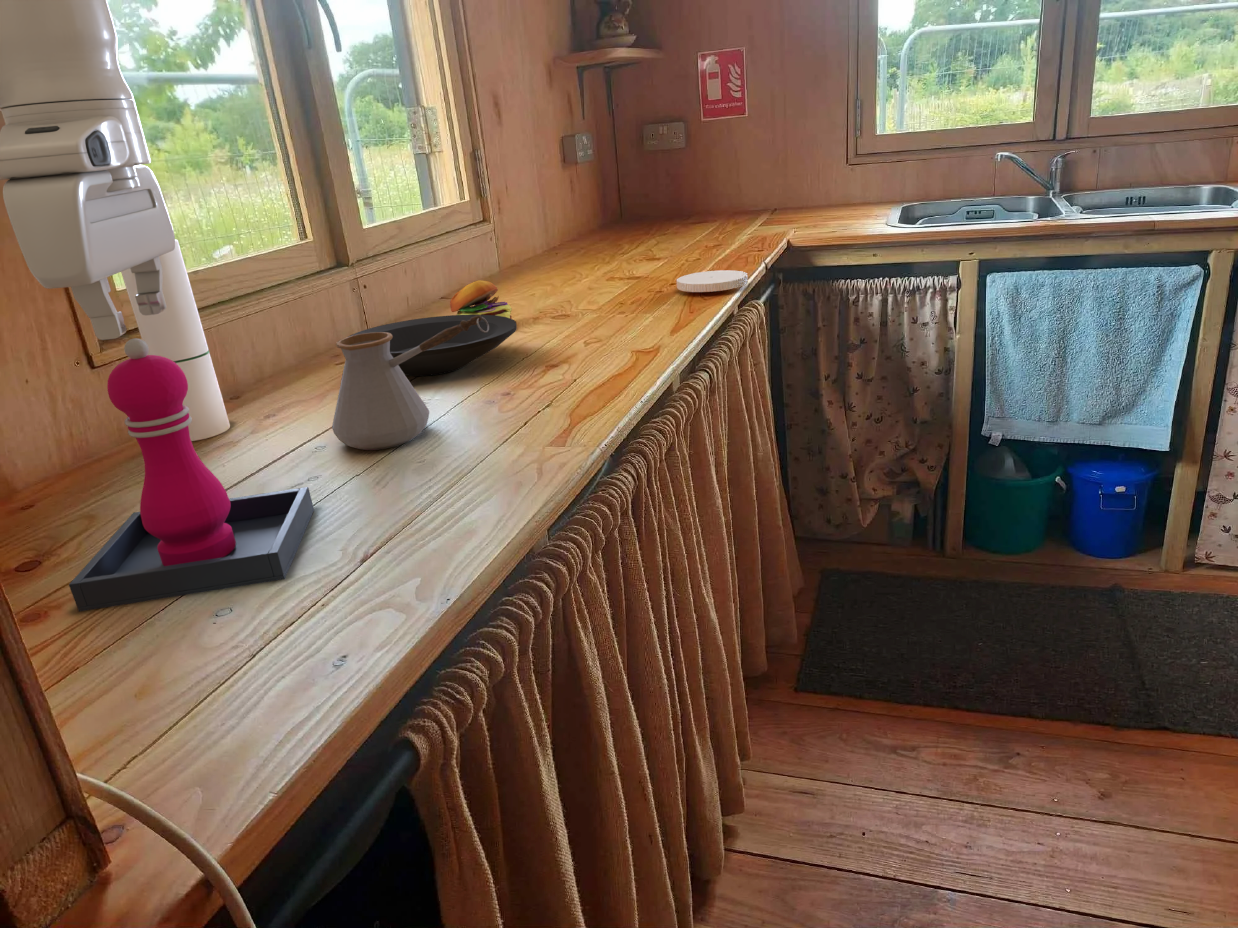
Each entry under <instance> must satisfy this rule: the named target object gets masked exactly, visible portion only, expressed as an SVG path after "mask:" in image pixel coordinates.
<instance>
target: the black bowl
mask: <svg viewBox="0 0 1238 928" xmlns="http://www.w3.org/2000/svg"><path fill="white" fill-rule="evenodd" d="M474 316H478V315H457V314H451V315H450V314H449V315H440V316H430V317H428V316H427V317H420V318H414V319H413V318H412V319H407V320H402V321H401V320H400V321H395V322H389V323H386V324H382V325H378V326H375V327H374V326H373V327H371V328H367V329H363V330H361V331H357V332H355V333H352V334H350V335H348V336H347V337H350V336H354V335H359V334H365V333H374V332H387V333H391V334H392V336H393V337H392V339H391V340H390V354H391V355H392V357H393V358H395V357H397V356H399V355H401V354H403V353H405V352H407V351H409V350H411V349H413V348H415V347H417V346H419V345H420V344H422V343H423V342H425V341H427V340H428V339H430V338H432V337H433V336H435V335H437V334H438V333H440V332H441V331H443V330H445V329H447V328H451V327H453V326H456V325H459V324H460V322H461V321H462V320H464V321H468V320H470V318H471V317H474ZM481 316H482V317H483V318H485V319H486V321H487V322H488V324H489V330H488V332H482V331H481V330H480V329H479V328H478V325H477V324H476V325H472V326H470V327H469V329H468V330H467V331H464V330H463V331H461V332H460V333H459V334H457V335H456V336H454V337H453V338H452V339H450V340H448V341H446V342H444V343H441V344H439V345H437V346H435V347H432V348H430V349H428V350H426V351H422V352H420V353H419V354H417V355H415V356H413V357H411V358H410V359H408V360H406V361H404V362H402V363H401V364H399V367H400V368H401V370H402V371H403V373H404V374H405V376H410V377H429V376H438V375H443V374H447V373H451V372H455V371H458V370H460V369H462V368H464V367H465V366H467V365H469V364H471V363H472V362H474V361H476V360H478V359H480V358H481V357H483V356H485V355H486V354H488V353H490V352H491V351H493V350H495V349H496V348H497V347H498V346H500V345H501V344H502V343H504V342H505V341H506V340H507V339H508V338H510V337H511V336H512V335H513V334H515V333H516V331H517V330H518V326H517V321H516V320H515V319H513V318H512V319H510V318H507V317H503V316H496V315H481ZM478 323H479V326H480V327H481V329H482V330H484V331H487V324H486V322H485V321H484V319H482V320H481V321H480V322H478ZM347 337H345V338H347Z"/></svg>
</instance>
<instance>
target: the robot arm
mask: <svg viewBox="0 0 1238 928" xmlns="http://www.w3.org/2000/svg"><path fill="white" fill-rule="evenodd" d="M118 41H119V40H118V35H117V31H116V27H115V24H114V20H113V17H112V13H111V10H110V5H109V3H108V0H0V112H1V115H2V118H3V121H4V125H2V126H1V128H0V181H5V183H4V184H3V188H2V197H3V202H4V206H5V210H6V213H7V215H8V218H9V222H10V225H11V227H12V230H13V232H14V235H15V238H16V241H17V244H18V246H19V249H20V251H21V253H22V255H23V258H24V261H25V263H26V266H27V268H28V269H29V271H30V273H31V274H32V277H34V278H35V280H36V281H38V283H39V284H40V286H42V287H43V288H45V289H47V290H48V289H49V290H50V289H51V290H52V289H62V288H64V289H65V288H71V291H72V295H73V298H74V300H75V301H76V303H77V304H78V305H79V306H80V308H81V309H82V310H83V312H84V313H85V315H86V316H87V317H88V318H89V320H90V323H91V326H92V329H93V332H94V335H95V337H96V338H97V339H98V340H100V341H106V340H114V339H118V338H120V337H121V336H123V335H124V334H126V333H127V331H128V330H127V325H126V323H125V317H124V315H123V312H122V311H118V310H117V308H116V306H115V304H114V302H113V300H112V297H111V296H110V294H109V293H110V292H111V291H112V289H111V287H110V286H111V285H110V283H109V279H108V278H109V277H112V276H114V275H117V274H119V273H121V272H122V271H124V270H127V269H129V268H130V269H131V272H132V273H135V279H136V286H137V292H138V294H137V295H136V296H135V298H136V301H137V304H138V306H139V311H140V313H141V314H142V315H154V314H159V313H161V312H162V311H164V310H165V309H166V303H165V300H164V296H163V292H162V266H161V262H160V259H159V256H161V255H163V254H166V253H168V252H171V251H173V250H174V249H175V240H176V236H175V230H174V228H173V224H172V221H171V218H170V215H169V212H168V208H167V206H166V202H165V199H164V196H163V193H162V190H161V187H160V185H159V182H158V180H157V178H156V175H155V174H154V172H153V170H152V169H151V168H150V167H148V166H147V164H148V165H149V164H151V162H152V160H151V156H150V153H149V149H148V145H147V142H146V138H145V134H144V130H143V127H142V123H141V119H140V115H139V111H138V108H137V105H136V101H135V98H134V94H133V92H132V91H131V89H130V87H129V85H128V84H127V82H126V79H125V78H124V75H123V73H122V70H121V68H120V64H119V57H118V56H119V55H118V46H119V45H118V44H119V42H118Z"/></svg>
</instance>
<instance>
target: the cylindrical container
mask: <svg viewBox="0 0 1238 928" xmlns="http://www.w3.org/2000/svg"><path fill="white" fill-rule="evenodd" d="M159 259H160V262H161V266H162V292H163V296H164V300H165V303H166V309H165V310H164V311H162V312H161V313H159V314H154V315H142V314H141V313H140V311H139V306H138V304H137V301H136V298H135V296H136V295H137V294H138V292H137V286H136V279H135V273H132V272H131V269H130V268H129V269H127V270H124V271H122V272H120V274H121V277H122V279H123V280H122V281H123V283H124V286H125V289H126V292H127V296H128V299H129V302H130V305H131V308H132V309H131V310H132V312H133V315H134V319H135V321H136V325H137V329H138V331H139V335H140V339H141V340H143V341H145V342H146V344H147V345H148V348H149V352H148V354H147V355H157V356H162V357H166V358H168V359H170V360H172V361H173V362H175V363H176V364H177V365H178V366H179V367H180V368H181V369H182V371H183V372H184V374H185V376H186V379H187V382H188V391H187V394H186V397H185V398H184V400H183V405H185V406H187V407H188V408H189V412H188V413H189V416H190V417H191V418H192V422H191V423H190V424H189V425H188V428H189V434H190V439H191V442H195V441H200V440H205V439H208V438H213V437H215V436H218V435H221V434H223V433H225V432H226V431H228V430H229V429H230V428H231V423H230V421H229V417H228V413H227V410H226V406H225V403H224V399H223V395H222V391H221V389H220V385H219V382H218V378H217V375H216V371H215V367H214V364H213V360H212V357H211V354H210V350H209V346H208V343H207V339H206V334H205V330H204V328H203V325H202V320H201V317H200V313H199V310H198V306H197V303H196V300H195V296H194V293H193V289H192V285H191V282H190V279H189V275H188V270H187V267H186V263H185V261H184V257H183V252H182V250H181V247H180V243H179V239H175V249H174V250H173V251H171V252H168V253H166V254H163V255H161V256H159Z"/></svg>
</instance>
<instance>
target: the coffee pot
mask: <svg viewBox="0 0 1238 928" xmlns="http://www.w3.org/2000/svg"><path fill="white" fill-rule="evenodd" d="M482 319H484V321H485V322H486V324H487V331H484V330H482V329H481V327H480V326H479V323H478V322H480V321H481V320H482ZM476 324H477V325H478V328H479V329H480V330H481V331H482V332H488V330H489V324H488V322H487V321H486V319H485V318H483V317H482V316H481V315H478V316H474V317H471V318H470V320H468V321H464V320H462V321H461V322H460V324H459V325H456V326H453V327H451V328H447V329H445V330H443V331H441V332H440V333H438V334H437V335H435V336H433V337H432V338H430V339H428V340H427V341H425V342H423V343H422V344H420V345H419V346H417V347H415V348H413V349H411V350H409V351H407V352H405V353H403V354H401V355H399V356H397V357H395V358H393V357H392V355H391V354H390V340H391V339H392V337H393V336H392V334H391V333H387V332H374V333H365V334H359V335H354V336H350V335H349V336H350V337H348V336H347V338H346V337H344V338H341V339H339V340H338V341H336V343H335V345H336V347H337V348H338V349H340V350H341V352H342V355H343V356H344V359H345V361H344V365H343V370H342V376H341V381H340V386H339V390H338V395H337V399H336V400H337V401H336V405H335V410H334V415H333V420H332V425H331V429H332V431H333V435H334V436H335V438H337V439H338V440H339V441H340V442H342V443H343V444H345V445H346V446H348V447H350V448H355V449H357V450H362V451H380V450H385V449H390V448H395V447H398V446H401V445H404V444H406V443H409V442H410V441H412V440H414V439H415V438H416V437H417V436H419V435H420V434H421V433H422V432H423V431H424V429H425V428H426V426H427V424H428V421H429V418H430V410H429V408H428V407H427V405H426V404H425V402H424V401H423V399H422V398H421V396H420V395H419V393H418V392H417V390H416V389H415V387H414V385H412V383H411V382H410V379H408V377H407V375H406V374H404V373H403V371H402V370H401V368H400V367H399V364H401V363H402V362H404V361H406V360H408V359H410V358H411V357H413V356H415V355H417V354H419V353H420V352H422V351H426V350H428V349H430V348H432V347H435V346H437V345H439V344H441V343H444V342H446V341H448V340H450V339H452V338H453V337H454V336H456V335H457V334H459V333H460V332H461V331H463V330H464V331H467V330H468V329H469V327H470V326H472V325H476Z"/></svg>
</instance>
